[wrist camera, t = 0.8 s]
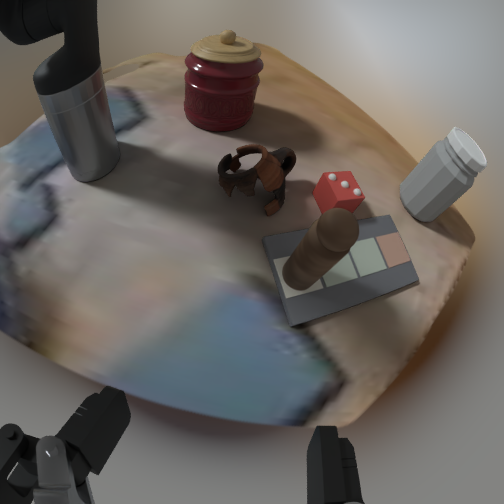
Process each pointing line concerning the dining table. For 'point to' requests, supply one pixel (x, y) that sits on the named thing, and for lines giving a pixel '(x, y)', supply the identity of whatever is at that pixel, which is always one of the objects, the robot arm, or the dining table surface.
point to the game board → (344, 271)
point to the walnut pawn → (321, 248)
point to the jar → (442, 176)
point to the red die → (338, 191)
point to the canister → (221, 81)
